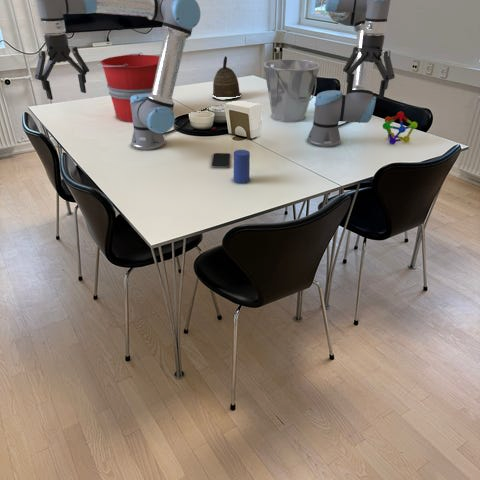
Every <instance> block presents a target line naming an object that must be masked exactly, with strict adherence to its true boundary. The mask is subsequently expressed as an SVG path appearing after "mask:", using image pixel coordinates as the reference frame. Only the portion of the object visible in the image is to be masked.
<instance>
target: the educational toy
mask: <svg viewBox="0 0 480 480" xmlns="http://www.w3.org/2000/svg"><path fill="white" fill-rule="evenodd" d="M397 119H399V124H400V125H399V127H398V126H393V125H391V124H392V123H394V122H395V121H396V120H397ZM403 120H404V121H405V122H407V123H408V124H409V125H407V126H404V123H403ZM417 127H418V122H417V121H411V120H410V119H409V118H408V117H406V116H405V113H404V112H403V111H401V110H400V111H398V112H397V114H396V115H394V116H391V117H390V116H386V117H385V118H384V122H383V123H382V129H383V130H386V132H387V138H388V142H389V145H395V144H396V143H397V142H402V141H403V142H404V143H409V142H410V140H411V138H410V136H411V134H412V132H413V131H414V130H415V129H417ZM392 129H393V130H397V131H398V132H396V134H395V133H394V132H392ZM408 129H409V131H408V133H407V134H406V135H404V136H401V134H403V133H405V132H406V130H408ZM399 135H400V136H399Z"/></svg>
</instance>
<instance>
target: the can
mask: <svg viewBox="0 0 480 480" xmlns="http://www.w3.org/2000/svg"><path fill="white" fill-rule="evenodd" d="M250 161H251V152H250V151H249V150H246V149H235V150H234V151H233V182H234V183H235V184H243V185H244V184H247V183H249V182H250V171H251V170H250V169H251V168H250V166H251V165H250Z"/></svg>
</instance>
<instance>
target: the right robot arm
mask: <svg viewBox="0 0 480 480" xmlns="http://www.w3.org/2000/svg"><path fill="white" fill-rule="evenodd" d="M390 6H391V0H325V4H324V10H325V11H326V13H327V12H328V15H329V18H330V19H331V20H332V21H334V22H336V23H337V24H340V25H344V26H353V31H354V32H355V33H356V38H355V39H356V41H355V46H354V47H352V48H353V49H352V52H351V54H350V56H349V58H348V60H347V62H346V64H345V65H344V67H343V69H342V71H343V72H344V73H346V80H345V81H346V84H347V87H346V94H343V91H342V90H336V89H332V90H324V91H321V92H319V93H317V95H316V96H315V101H314V113H313V122H312V126H311V129H310V131H309V133H308V136H307V142H308V143H309V144H310V145H312V146H315V147H320V148H331V147H332V148H333V147H336V146H339V145H340V144H341V135H340V131H339V130H340V129H339V128H340V127H342V126H345V125H347V124H349V123H358V124H360V123H361V124H362V123H363V124H364V123H365V124H366V123H369V122H370V121H371V119H372V117H373V114H374V110H375V107H376V101H377V96H375V95H374V91H373V89H372V88H371V86H372V79H373V71H374V70H373V69H374V65H376V68H377V69H378V72H379V74H380V75H381V77H382V80H380V85H379V93H378V100H381V99H384V97H385V91H386V90H388V87H389V82H390V81H392V80H394V79H395V78H396V75H395V72H394V68H393V63H392V60H391V50H390V49H389V50H384V49H383V47H384V43H385V35H384V34H386V31H387V24H388V16H389V10H390ZM382 58H383V59H382ZM383 62H384V63H383ZM339 122H343V123H339Z"/></svg>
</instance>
